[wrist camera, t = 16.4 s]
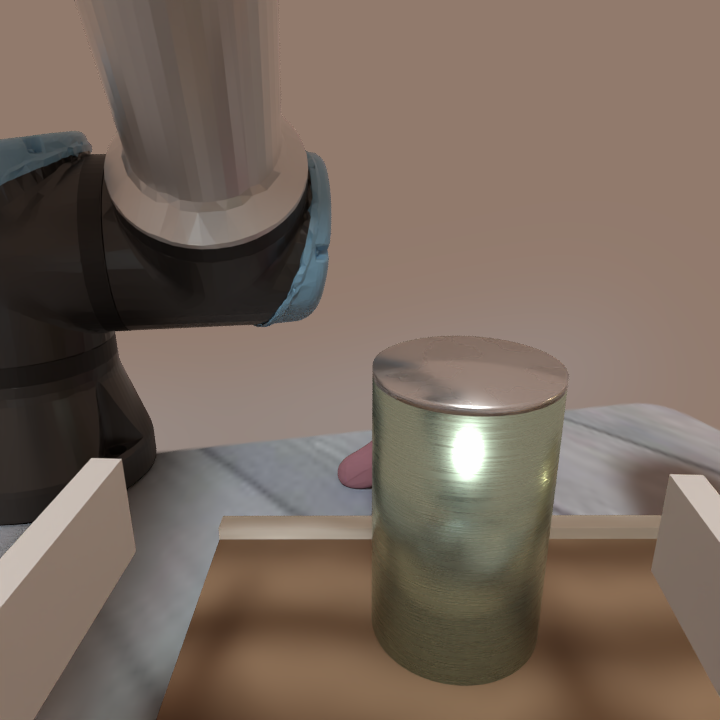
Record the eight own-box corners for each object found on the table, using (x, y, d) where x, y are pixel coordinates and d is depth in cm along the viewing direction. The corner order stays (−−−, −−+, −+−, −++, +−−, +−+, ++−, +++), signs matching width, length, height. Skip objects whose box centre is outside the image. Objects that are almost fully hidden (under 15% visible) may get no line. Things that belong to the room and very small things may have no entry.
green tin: (559, 684, 26) (598, 405, 22) (374, 687, 26) (376, 407, 22) (511, 555, 34) (533, 330, 29) (368, 557, 34) (369, 331, 29)
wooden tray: (228, 559, 38) (224, 512, 36) (779, 559, 37) (792, 512, 36) (142, 834, 23) (130, 770, 22) (1045, 837, 23) (1079, 772, 22)
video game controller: (382, 520, 44) (428, 446, 41) (328, 481, 45) (369, 406, 42) (428, 456, 53) (469, 391, 49) (382, 424, 53) (419, 359, 50)
